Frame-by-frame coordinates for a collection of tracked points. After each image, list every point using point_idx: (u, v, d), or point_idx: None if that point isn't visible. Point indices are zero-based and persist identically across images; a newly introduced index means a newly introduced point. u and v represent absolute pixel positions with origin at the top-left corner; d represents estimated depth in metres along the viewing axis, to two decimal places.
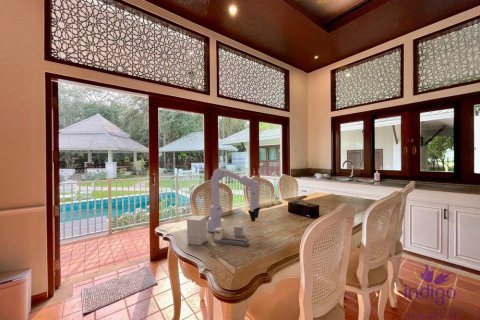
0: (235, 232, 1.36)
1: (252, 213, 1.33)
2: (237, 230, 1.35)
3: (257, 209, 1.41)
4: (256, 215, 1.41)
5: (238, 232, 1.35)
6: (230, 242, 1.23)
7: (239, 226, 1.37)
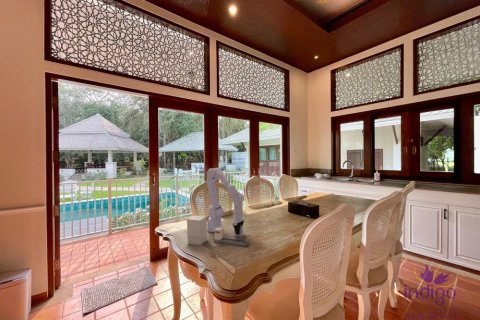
0: None
1: (236, 226, 1.34)
2: None
3: (241, 223, 1.39)
4: None
5: None
6: (230, 242, 1.23)
7: None
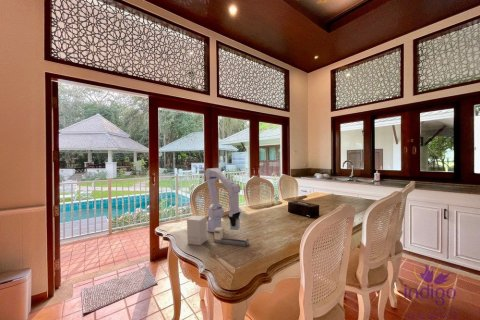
0: None
1: (232, 218, 1.28)
2: None
3: (237, 214, 1.33)
4: None
5: None
6: (230, 242, 1.23)
7: None
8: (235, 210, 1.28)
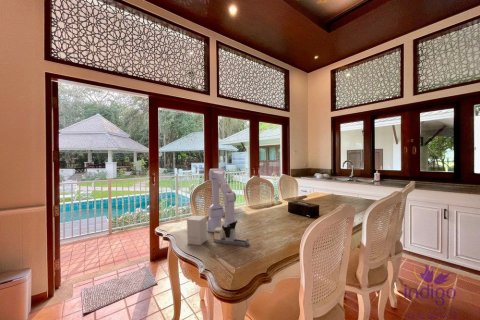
0: None
1: (226, 228, 1.21)
2: None
3: (233, 223, 1.28)
4: None
5: None
6: (230, 242, 1.23)
7: (231, 230, 1.25)
8: (230, 220, 1.22)
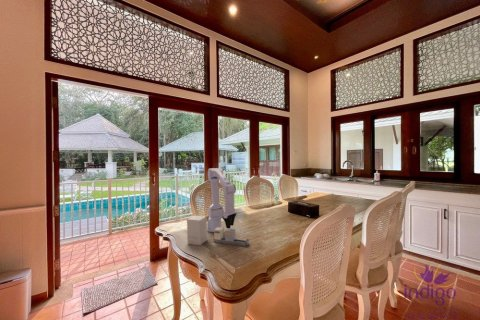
0: (226, 236, 1.24)
1: (227, 219, 1.22)
2: (229, 234, 1.23)
3: (232, 216, 1.27)
4: (231, 222, 1.27)
5: (229, 236, 1.23)
6: (230, 242, 1.23)
7: (231, 230, 1.25)
8: (230, 211, 1.22)
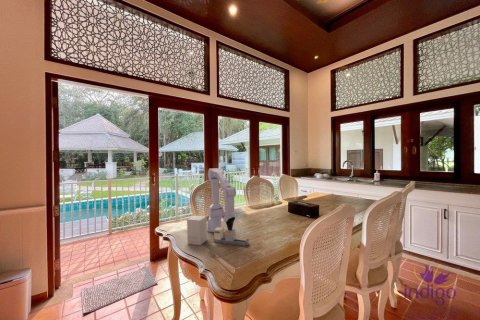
0: (226, 236, 1.24)
1: (228, 221, 1.24)
2: (229, 234, 1.23)
3: None
4: None
5: (229, 236, 1.23)
6: (230, 242, 1.23)
7: (231, 230, 1.25)
8: (230, 214, 1.22)
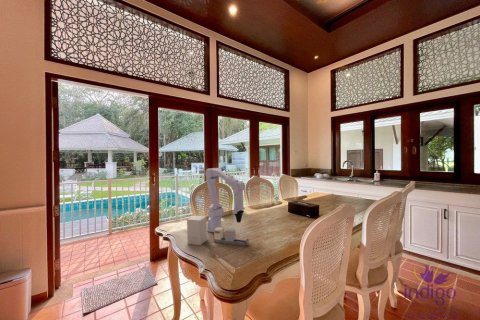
0: (226, 236, 1.24)
1: (237, 214, 1.31)
2: (229, 234, 1.23)
3: None
4: None
5: (229, 236, 1.23)
6: (230, 242, 1.23)
7: (231, 230, 1.25)
8: (239, 207, 1.29)
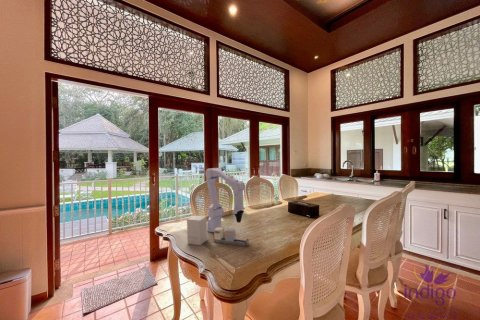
0: (226, 236, 1.24)
1: (237, 214, 1.31)
2: (229, 234, 1.23)
3: None
4: None
5: (229, 236, 1.23)
6: (230, 242, 1.23)
7: (231, 230, 1.25)
8: (239, 207, 1.29)
